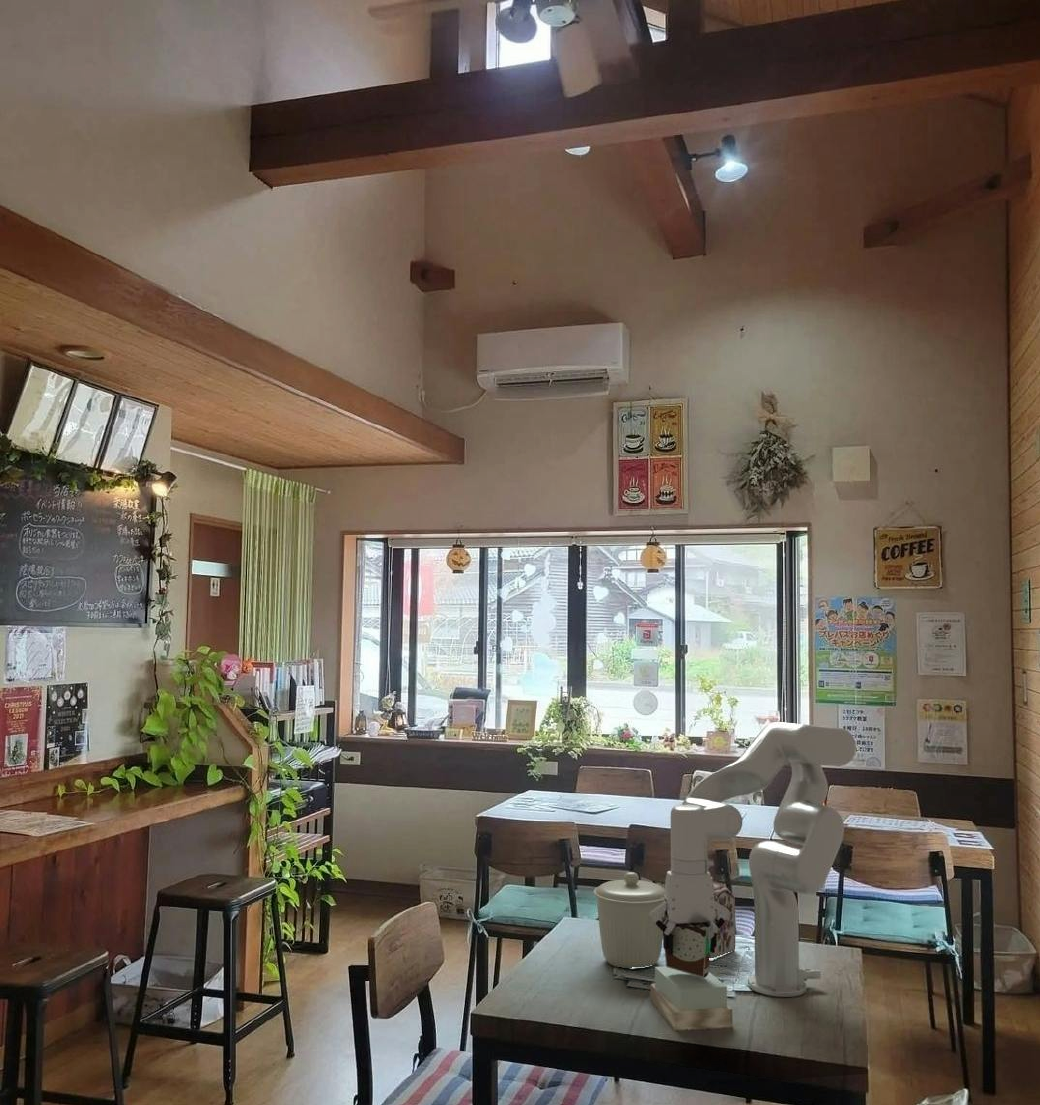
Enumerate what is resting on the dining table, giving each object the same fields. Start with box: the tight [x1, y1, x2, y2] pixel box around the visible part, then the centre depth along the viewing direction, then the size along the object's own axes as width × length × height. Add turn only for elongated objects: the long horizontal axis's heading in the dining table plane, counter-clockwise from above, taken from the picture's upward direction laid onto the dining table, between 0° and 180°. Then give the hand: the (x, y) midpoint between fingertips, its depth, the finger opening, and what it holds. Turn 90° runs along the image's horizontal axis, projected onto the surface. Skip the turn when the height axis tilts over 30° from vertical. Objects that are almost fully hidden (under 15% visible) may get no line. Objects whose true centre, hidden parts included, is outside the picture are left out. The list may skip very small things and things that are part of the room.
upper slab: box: [654, 965, 728, 1011], centre depth 203 cm, size 10×14×4 cm
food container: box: [661, 916, 714, 978], centre depth 204 cm, size 12×6×10 cm, turn 45°
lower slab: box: [650, 983, 734, 1031], centre depth 203 cm, size 12×16×4 cm
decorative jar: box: [710, 876, 736, 958], centre depth 243 cm, size 12×12×18 cm
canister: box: [593, 871, 665, 969], centre depth 235 cm, size 18×18×21 cm
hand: (689, 951), depth 204 cm, fingers closed on food container, 8 cm apart
